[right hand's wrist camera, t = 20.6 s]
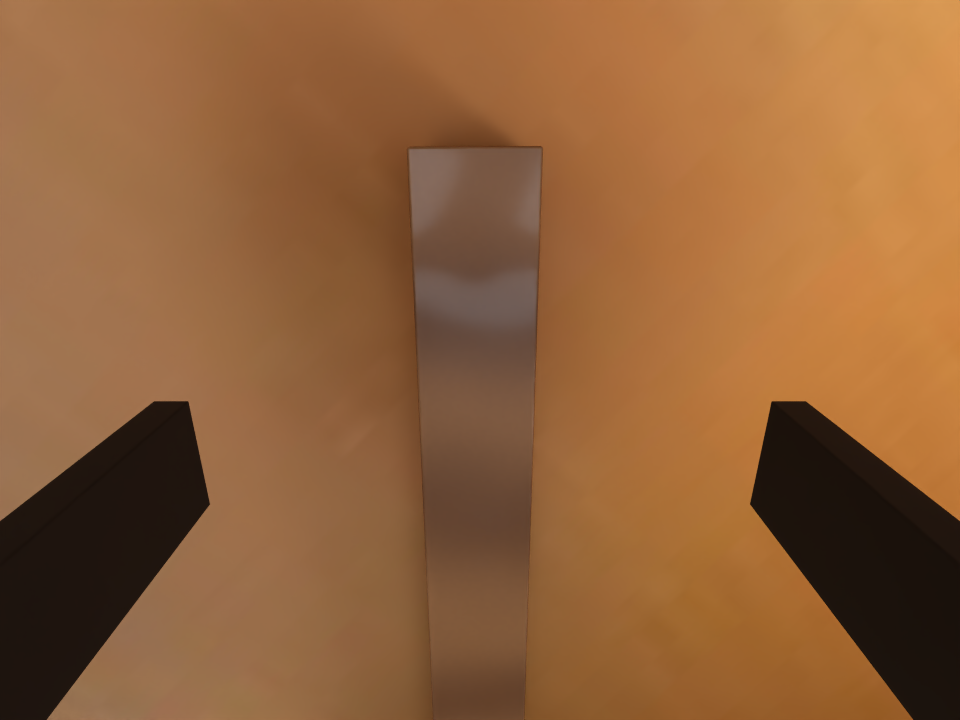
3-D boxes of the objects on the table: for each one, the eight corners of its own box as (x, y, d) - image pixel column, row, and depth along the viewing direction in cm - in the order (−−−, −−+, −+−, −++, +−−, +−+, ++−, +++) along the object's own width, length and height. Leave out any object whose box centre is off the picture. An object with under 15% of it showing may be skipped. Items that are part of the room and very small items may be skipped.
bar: (425, 150, 27) (406, 146, 19) (524, 149, 27) (543, 146, 19) (449, 840, 45) (444, 976, 37) (509, 839, 45) (515, 975, 37)
